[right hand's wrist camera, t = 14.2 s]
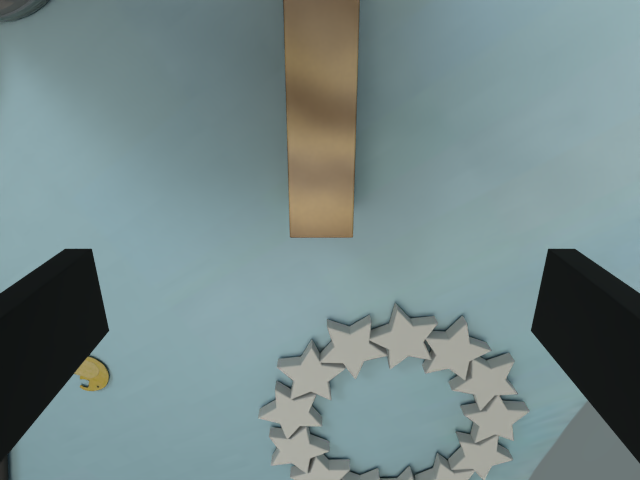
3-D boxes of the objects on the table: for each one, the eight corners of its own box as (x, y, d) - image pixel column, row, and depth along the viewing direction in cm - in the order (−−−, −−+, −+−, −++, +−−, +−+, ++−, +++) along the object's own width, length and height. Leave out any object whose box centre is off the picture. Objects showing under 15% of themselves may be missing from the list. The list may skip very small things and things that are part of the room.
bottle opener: (-83, 341, 45) (104, 395, 48) (-84, 342, 45) (104, 395, 48) (-81, 306, 44) (112, 363, 46) (-82, 306, 44) (111, 364, 46)
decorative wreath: (421, 536, 57) (578, 378, 47) (424, 549, 55) (586, 388, 46) (216, 451, 51) (347, 252, 42) (213, 462, 50) (348, 259, 40)
